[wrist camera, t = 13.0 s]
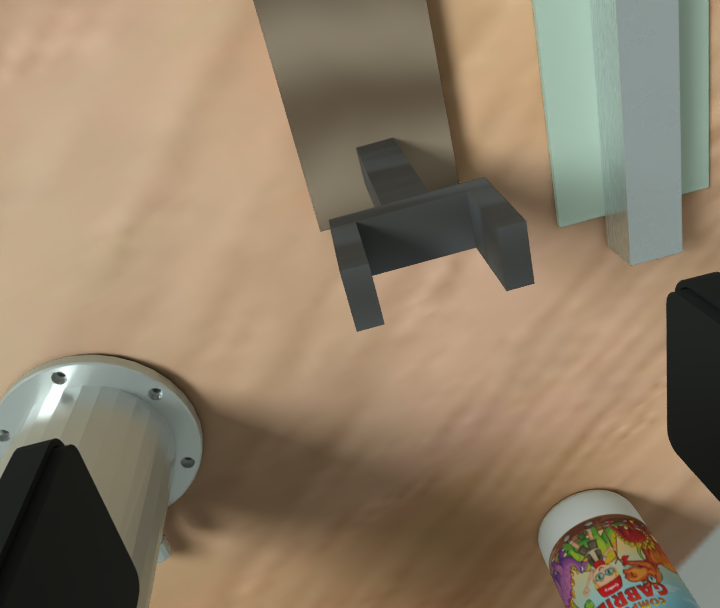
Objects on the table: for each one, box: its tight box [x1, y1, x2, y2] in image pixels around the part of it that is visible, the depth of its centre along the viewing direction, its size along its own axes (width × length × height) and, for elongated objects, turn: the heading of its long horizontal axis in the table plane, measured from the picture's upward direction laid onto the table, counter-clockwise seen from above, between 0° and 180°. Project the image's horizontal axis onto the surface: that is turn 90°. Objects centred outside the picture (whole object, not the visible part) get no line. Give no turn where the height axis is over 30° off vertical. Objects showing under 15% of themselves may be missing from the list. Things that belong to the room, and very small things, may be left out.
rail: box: [590, 0, 682, 266], centre depth 34 cm, size 24×3×3 cm, turn 14°
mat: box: [532, 0, 709, 228], centre depth 36 cm, size 20×9×1 cm, turn 14°
